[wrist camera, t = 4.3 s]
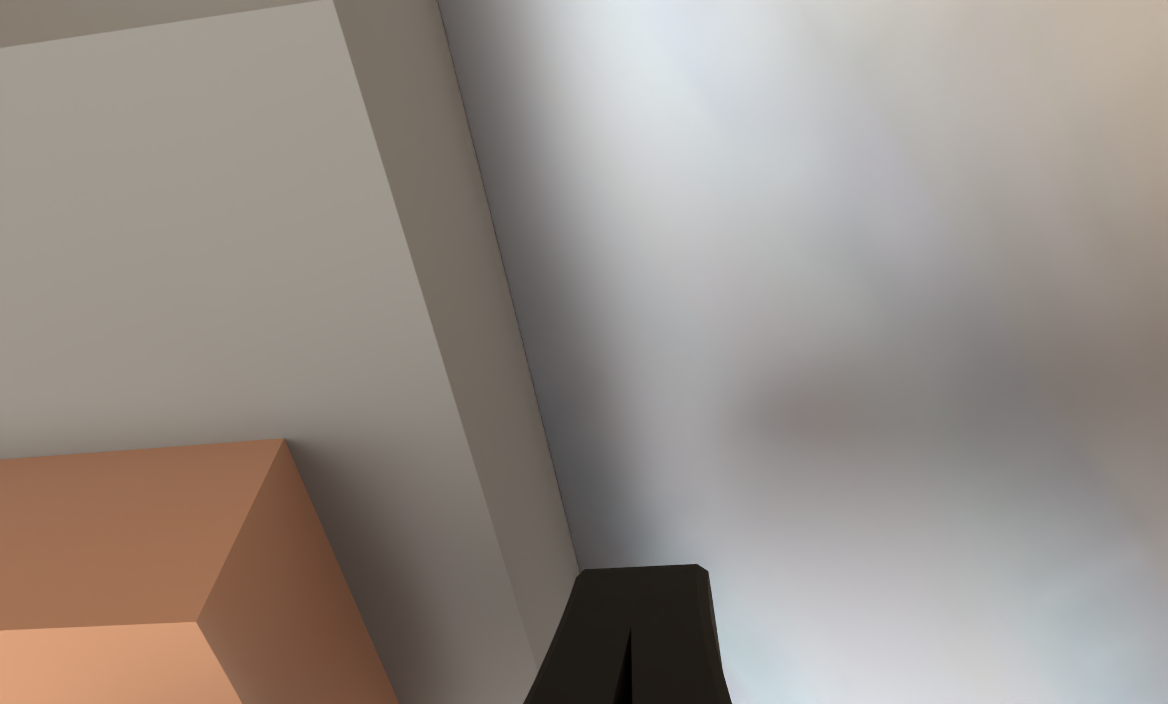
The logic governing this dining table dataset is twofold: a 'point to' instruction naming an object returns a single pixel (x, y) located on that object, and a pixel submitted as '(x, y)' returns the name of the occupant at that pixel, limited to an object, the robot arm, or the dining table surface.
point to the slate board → (286, 298)
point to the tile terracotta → (175, 583)
